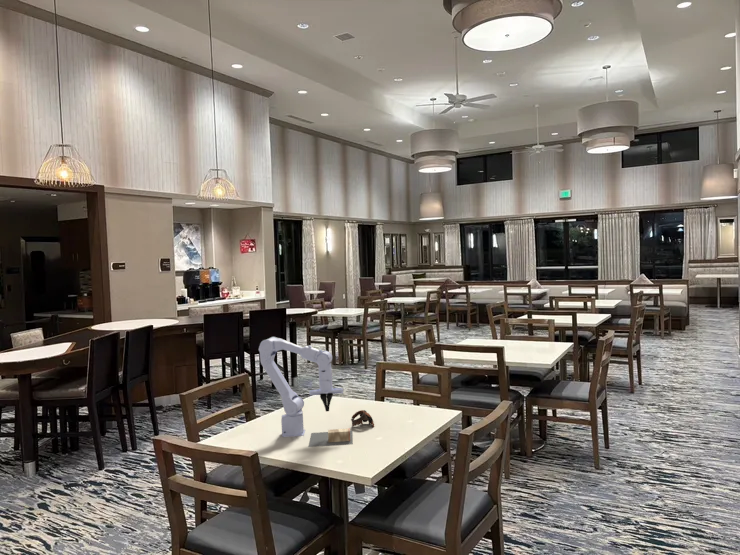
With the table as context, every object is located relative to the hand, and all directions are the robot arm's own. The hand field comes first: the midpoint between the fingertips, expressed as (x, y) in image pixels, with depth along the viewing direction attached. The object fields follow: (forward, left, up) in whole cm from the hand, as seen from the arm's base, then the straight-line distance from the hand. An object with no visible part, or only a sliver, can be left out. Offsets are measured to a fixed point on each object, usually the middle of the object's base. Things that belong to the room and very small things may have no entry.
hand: (327, 410), depth 232 cm
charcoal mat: (+1, -7, -10) cm, 12 cm away
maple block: (0, -10, -8) cm, 13 cm away
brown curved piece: (+15, +9, -11) cm, 21 cm away
